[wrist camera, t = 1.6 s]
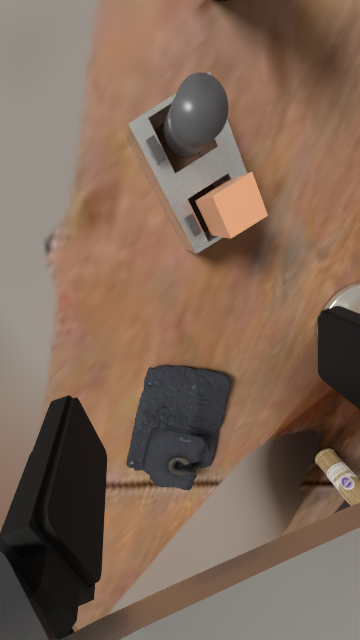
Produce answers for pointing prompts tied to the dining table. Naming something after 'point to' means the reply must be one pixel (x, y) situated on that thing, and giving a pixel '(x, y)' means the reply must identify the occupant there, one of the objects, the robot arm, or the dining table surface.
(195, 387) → the dark slate chunk
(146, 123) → the mount
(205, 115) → the knob round
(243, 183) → the button square
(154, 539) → the dining table surface
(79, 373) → the dining table surface
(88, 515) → the robot arm
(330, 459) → the sprinkles bottle
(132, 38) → the dining table surface
